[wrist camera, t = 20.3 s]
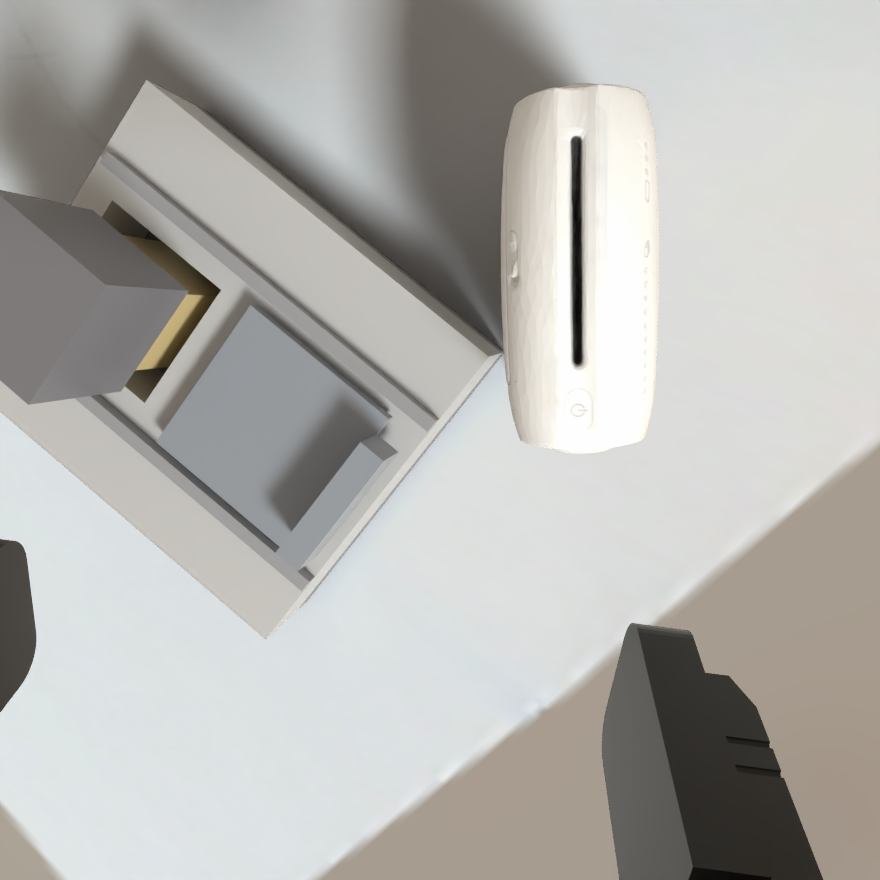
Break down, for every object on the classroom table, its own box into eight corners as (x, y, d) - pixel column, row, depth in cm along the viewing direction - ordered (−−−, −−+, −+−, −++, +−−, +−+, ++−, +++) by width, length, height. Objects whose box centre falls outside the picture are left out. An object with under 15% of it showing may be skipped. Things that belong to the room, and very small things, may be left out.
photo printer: (644, 418, 33) (665, 473, 21) (535, 418, 34) (493, 472, 22) (646, 146, 31) (668, 37, 19) (531, 154, 32) (486, 55, 20)
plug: (165, 225, 34) (-9, 188, 25) (248, 295, 34) (105, 285, 24) (107, 313, 36) (-81, 310, 26) (188, 381, 35) (28, 404, 26)
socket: (205, 110, 34) (137, 74, 30) (504, 351, 33) (486, 357, 28) (38, 373, 38) (-48, 381, 33) (306, 601, 37) (259, 645, 32)
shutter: (257, 305, 30) (225, 303, 28) (414, 434, 30) (396, 445, 27) (164, 440, 32) (125, 449, 29) (311, 564, 31) (286, 586, 29)
